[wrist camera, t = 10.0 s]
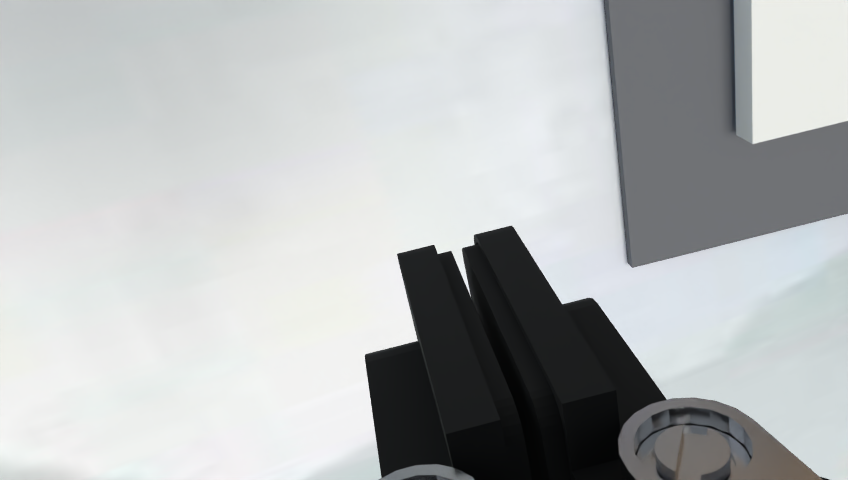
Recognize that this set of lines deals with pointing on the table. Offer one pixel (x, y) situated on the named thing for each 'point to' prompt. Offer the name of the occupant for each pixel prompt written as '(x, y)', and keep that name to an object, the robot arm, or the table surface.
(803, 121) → the tile
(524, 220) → the table surface
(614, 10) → the mat
